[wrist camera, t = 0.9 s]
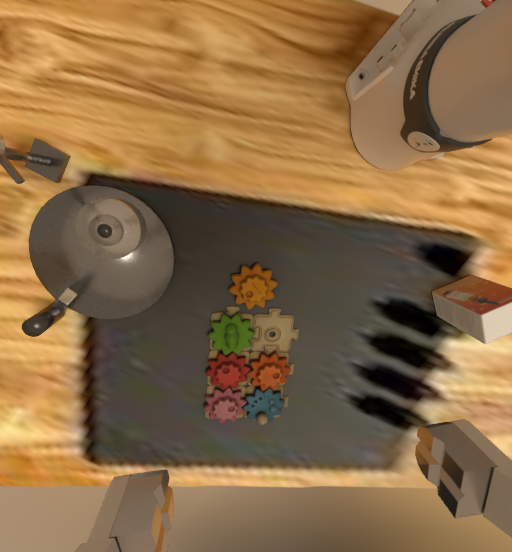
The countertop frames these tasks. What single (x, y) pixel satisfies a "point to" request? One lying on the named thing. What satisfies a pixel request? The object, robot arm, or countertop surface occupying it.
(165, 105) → the countertop surface
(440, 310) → the small box
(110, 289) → the turntable
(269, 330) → the gear puzzle
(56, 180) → the lever with square base
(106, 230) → the cover
